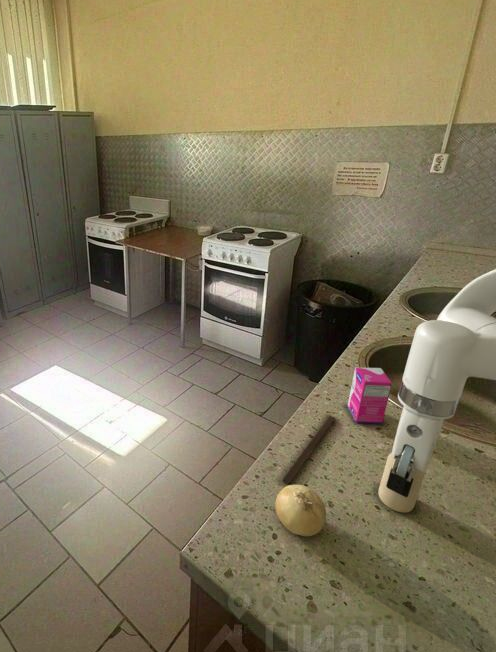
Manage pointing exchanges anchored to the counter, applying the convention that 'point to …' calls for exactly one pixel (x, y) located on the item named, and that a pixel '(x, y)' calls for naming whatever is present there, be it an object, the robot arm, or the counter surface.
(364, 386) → the supplement box
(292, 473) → the dark brown thin rod
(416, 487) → the candle
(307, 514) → the onion
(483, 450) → the counter surface
